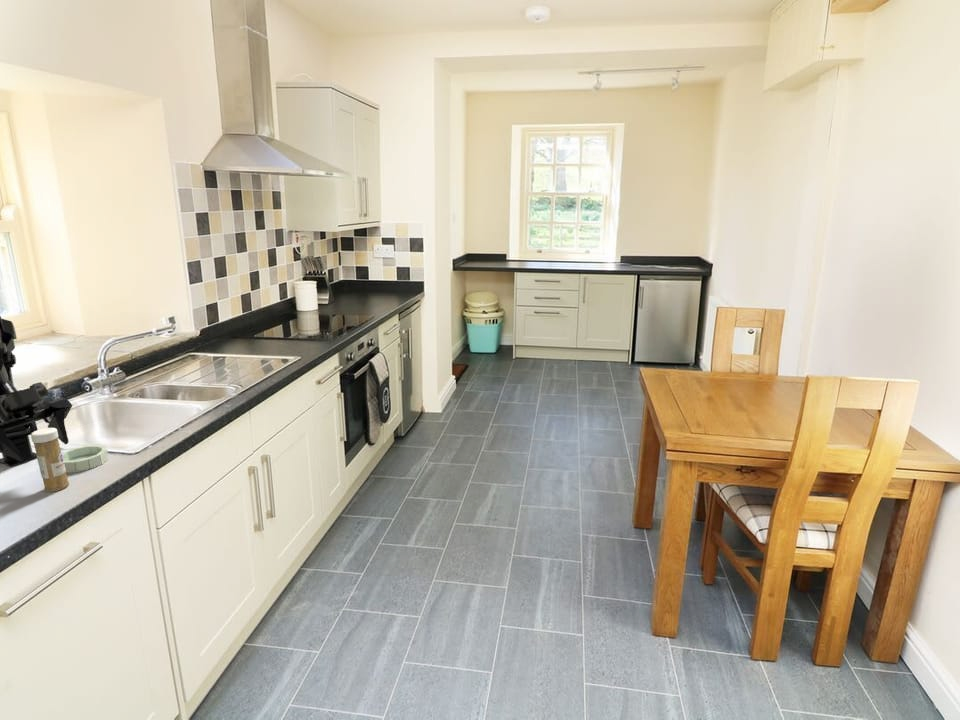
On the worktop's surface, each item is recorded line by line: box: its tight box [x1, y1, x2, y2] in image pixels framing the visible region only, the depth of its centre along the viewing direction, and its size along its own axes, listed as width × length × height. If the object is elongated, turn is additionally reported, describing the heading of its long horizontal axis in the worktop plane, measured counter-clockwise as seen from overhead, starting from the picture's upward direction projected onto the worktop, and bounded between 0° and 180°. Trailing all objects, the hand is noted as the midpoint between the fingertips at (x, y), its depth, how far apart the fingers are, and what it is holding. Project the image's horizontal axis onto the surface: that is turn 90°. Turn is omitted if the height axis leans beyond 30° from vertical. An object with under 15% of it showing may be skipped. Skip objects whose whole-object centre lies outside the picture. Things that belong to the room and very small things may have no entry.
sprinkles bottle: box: [30, 427, 70, 493], centre depth 126 cm, size 5×5×14 cm
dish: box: [61, 444, 109, 473], centre depth 139 cm, size 10×10×2 cm
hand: (45, 451), depth 125 cm, fingers open, 9 cm apart
